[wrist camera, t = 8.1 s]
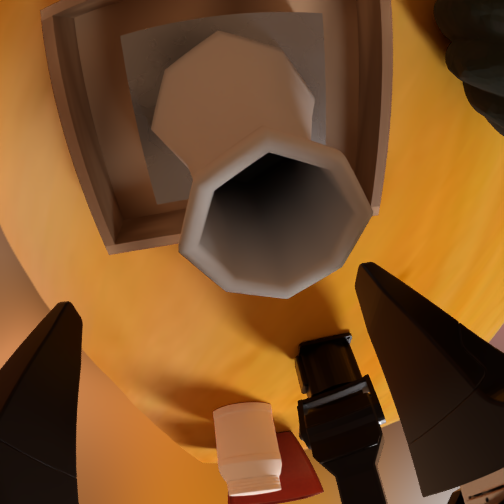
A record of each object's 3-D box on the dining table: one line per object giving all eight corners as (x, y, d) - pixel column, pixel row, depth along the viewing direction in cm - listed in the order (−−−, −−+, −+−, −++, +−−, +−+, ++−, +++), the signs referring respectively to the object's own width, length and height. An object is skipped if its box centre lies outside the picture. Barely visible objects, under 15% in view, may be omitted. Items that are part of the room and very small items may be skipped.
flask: (127, 135, 13) (28, 286, 5) (213, 5, 9) (226, -91, 2) (249, 201, 16) (294, 375, 8) (337, 95, 13) (495, 191, 5)
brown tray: (359, -21, 11) (388, -29, 9) (357, 190, 22) (378, 215, 19) (67, 13, 10) (40, 10, 8) (120, 225, 21) (109, 254, 18)
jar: (209, 405, 42) (218, 494, 31) (270, 398, 43) (287, 485, 31) (220, 426, 50) (229, 497, 38) (270, 419, 50) (284, 490, 39)
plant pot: (219, 434, 53) (228, 507, 40) (308, 423, 56) (325, 492, 43) (222, 452, 65) (230, 508, 52) (294, 444, 68) (305, 498, 55)
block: (298, 19, 13) (322, 13, 10) (303, 154, 19) (324, 181, 16) (139, 38, 12) (120, 36, 9) (165, 174, 18) (157, 204, 15)
